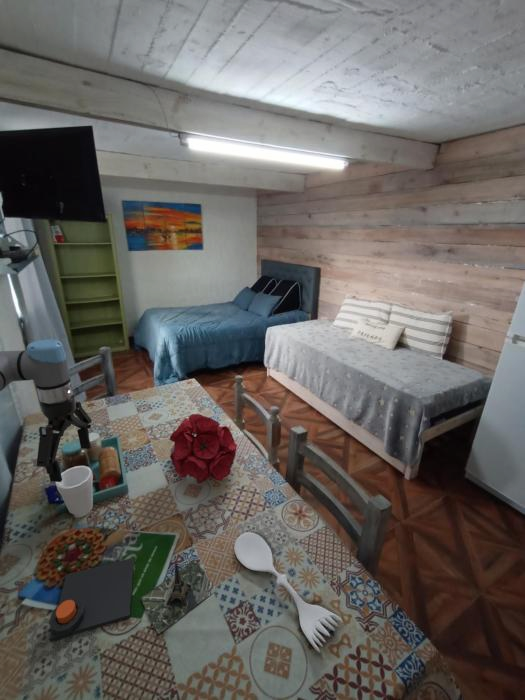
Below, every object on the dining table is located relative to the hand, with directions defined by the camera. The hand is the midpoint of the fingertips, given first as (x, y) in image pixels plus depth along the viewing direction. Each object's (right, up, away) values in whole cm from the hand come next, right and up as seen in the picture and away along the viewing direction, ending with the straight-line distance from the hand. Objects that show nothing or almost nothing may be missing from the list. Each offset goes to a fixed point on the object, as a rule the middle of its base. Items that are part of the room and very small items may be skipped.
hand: (72, 463), depth 90 cm
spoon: (+59, -27, -11) cm, 66 cm away
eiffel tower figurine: (+34, -28, -13) cm, 46 cm away
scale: (+15, -27, -14) cm, 34 cm away
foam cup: (-3, -18, +9) cm, 20 cm away
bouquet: (+32, -13, +26) cm, 43 cm away
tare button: (+11, -26, -20) cm, 35 cm away
